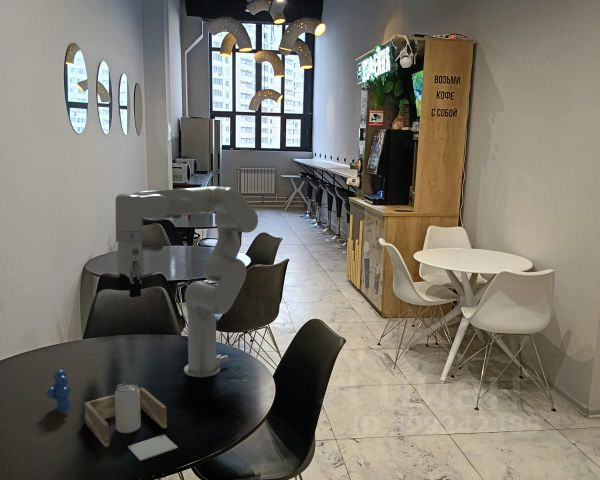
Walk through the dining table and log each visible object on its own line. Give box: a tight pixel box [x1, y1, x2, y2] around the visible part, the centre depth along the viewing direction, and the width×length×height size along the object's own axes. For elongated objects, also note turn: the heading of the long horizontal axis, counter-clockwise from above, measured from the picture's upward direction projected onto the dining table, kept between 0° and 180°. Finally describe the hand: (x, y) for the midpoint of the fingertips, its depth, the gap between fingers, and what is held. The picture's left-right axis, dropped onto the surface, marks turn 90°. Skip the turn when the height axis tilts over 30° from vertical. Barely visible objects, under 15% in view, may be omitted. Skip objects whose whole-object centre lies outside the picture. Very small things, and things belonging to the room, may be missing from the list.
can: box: [114, 382, 142, 434], centre depth 149 cm, size 6×6×12 cm
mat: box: [127, 434, 178, 462], centre depth 141 cm, size 10×8×1 cm
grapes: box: [45, 369, 72, 415], centre depth 158 cm, size 12×7×12 cm, turn 32°
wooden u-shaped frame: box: [83, 387, 168, 448], centre depth 151 cm, size 17×16×6 cm
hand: (129, 293), depth 163 cm, fingers open, 9 cm apart
